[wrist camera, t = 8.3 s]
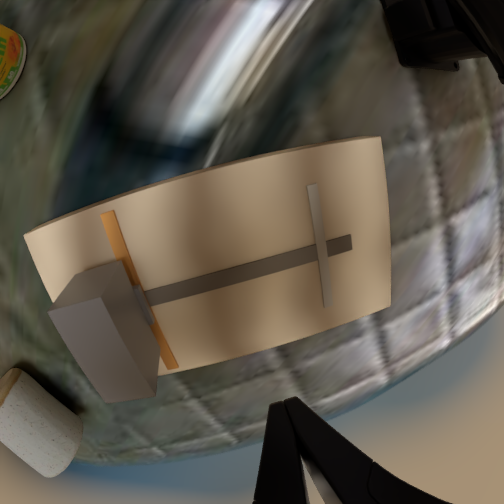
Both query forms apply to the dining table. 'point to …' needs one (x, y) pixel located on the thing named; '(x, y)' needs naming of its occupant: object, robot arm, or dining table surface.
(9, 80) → the supplement bottle
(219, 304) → the fader console
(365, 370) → the dining table surface
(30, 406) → the ceramic mug
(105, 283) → the fader tab
